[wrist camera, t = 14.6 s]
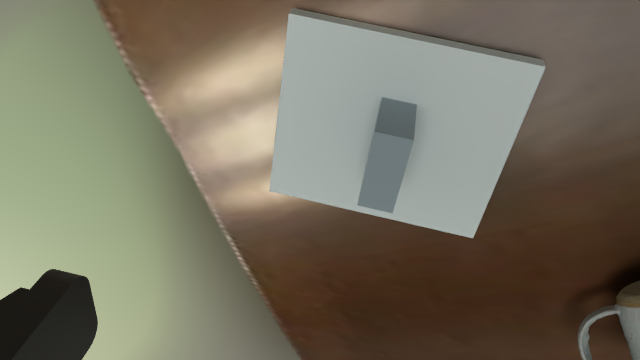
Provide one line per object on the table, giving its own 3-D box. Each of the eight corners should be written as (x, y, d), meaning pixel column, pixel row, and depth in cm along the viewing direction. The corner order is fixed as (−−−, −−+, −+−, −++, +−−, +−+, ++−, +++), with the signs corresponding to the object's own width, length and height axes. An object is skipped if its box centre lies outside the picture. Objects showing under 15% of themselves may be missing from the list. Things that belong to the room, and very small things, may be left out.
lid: (540, 53, 36) (559, 101, 30) (471, 219, 45) (476, 282, 39) (296, 2, 37) (269, 39, 31) (276, 175, 46) (252, 229, 40)
